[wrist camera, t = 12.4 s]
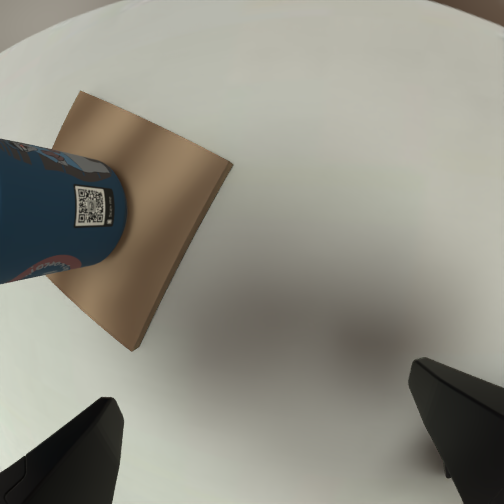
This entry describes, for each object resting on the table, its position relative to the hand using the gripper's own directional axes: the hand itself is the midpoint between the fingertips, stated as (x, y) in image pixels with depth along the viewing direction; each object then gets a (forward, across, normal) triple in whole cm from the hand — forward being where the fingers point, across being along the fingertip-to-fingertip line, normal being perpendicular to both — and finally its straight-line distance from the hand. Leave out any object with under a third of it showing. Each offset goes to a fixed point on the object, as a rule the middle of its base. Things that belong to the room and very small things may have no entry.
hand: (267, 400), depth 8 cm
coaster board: (+14, +10, -4) cm, 18 cm away
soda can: (+14, +10, -4) cm, 17 cm away
